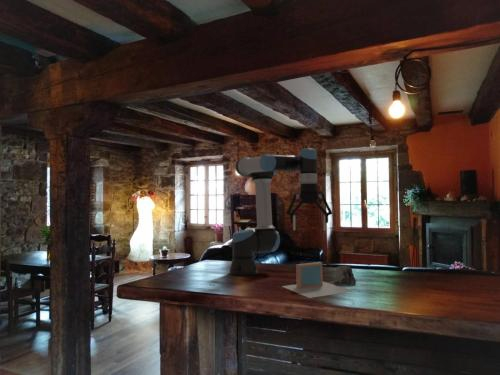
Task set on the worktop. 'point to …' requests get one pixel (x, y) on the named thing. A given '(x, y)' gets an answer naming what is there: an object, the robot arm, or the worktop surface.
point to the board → (318, 290)
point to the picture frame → (309, 275)
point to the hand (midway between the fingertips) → (309, 230)
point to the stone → (345, 275)
